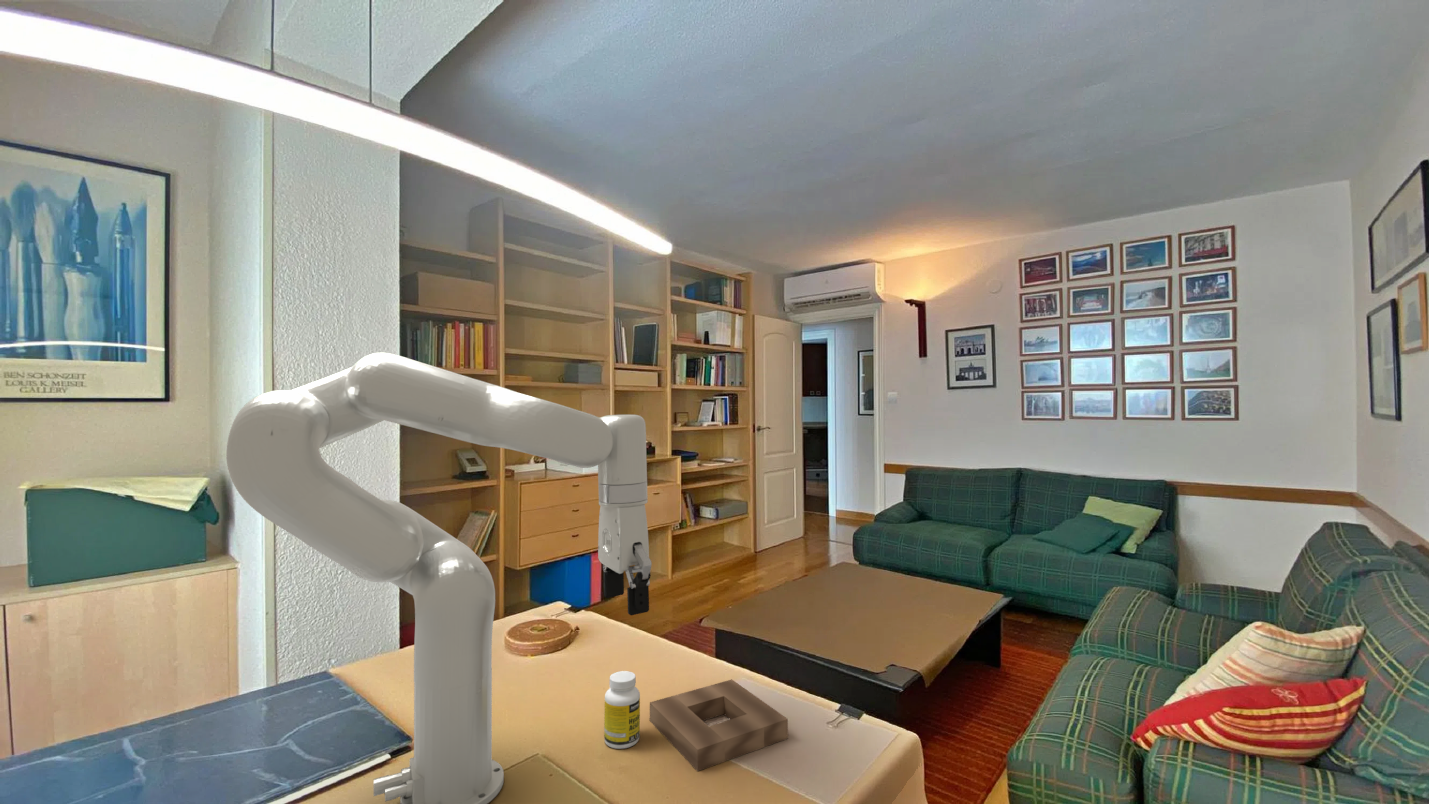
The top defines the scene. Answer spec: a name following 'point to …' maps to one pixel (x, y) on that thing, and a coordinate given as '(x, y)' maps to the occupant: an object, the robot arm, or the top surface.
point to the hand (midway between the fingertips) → (625, 604)
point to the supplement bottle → (622, 711)
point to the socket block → (724, 740)
